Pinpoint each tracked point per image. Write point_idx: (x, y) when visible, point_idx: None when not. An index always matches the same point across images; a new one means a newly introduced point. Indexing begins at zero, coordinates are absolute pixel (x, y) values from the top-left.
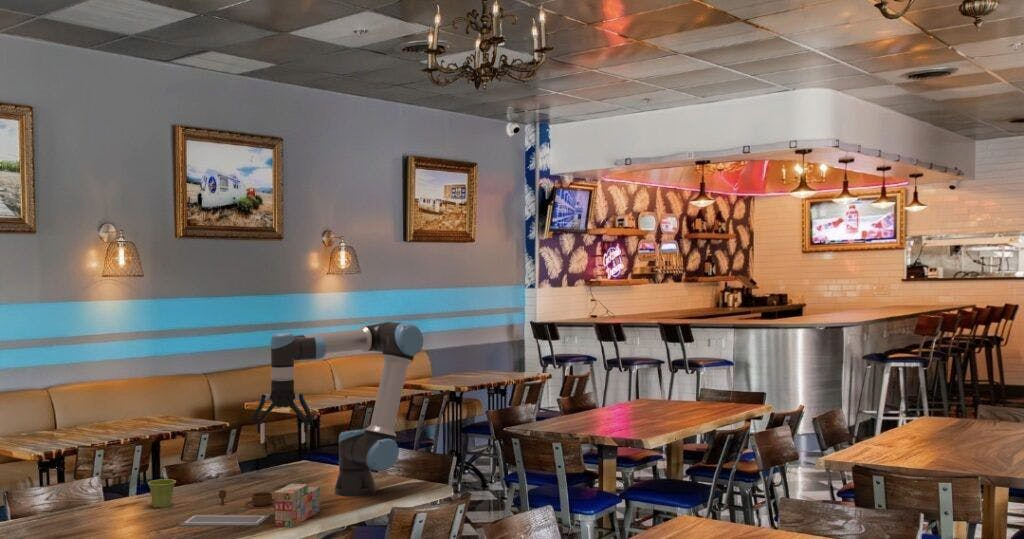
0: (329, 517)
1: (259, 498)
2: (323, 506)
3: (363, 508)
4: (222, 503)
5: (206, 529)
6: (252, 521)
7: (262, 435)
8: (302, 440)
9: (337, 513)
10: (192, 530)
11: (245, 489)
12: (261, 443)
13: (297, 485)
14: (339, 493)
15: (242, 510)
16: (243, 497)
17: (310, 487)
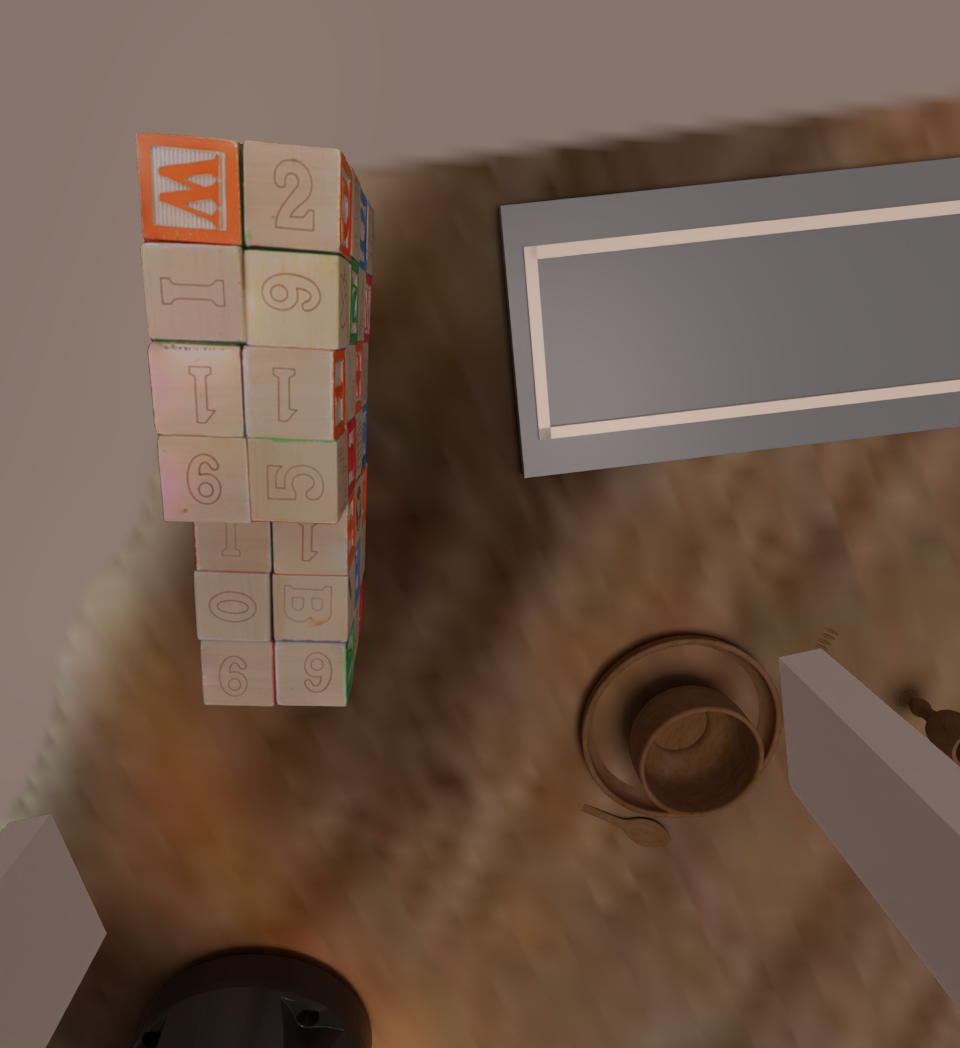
0: (149, 541)
1: (693, 702)
2: (312, 771)
3: (46, 765)
4: (917, 700)
5: (830, 140)
6: (574, 302)
7: (880, 746)
8: (5, 853)
9: (147, 637)
10: (915, 101)
11: (890, 1014)
12: (805, 652)
13: (238, 451)
14: (306, 974)
15: (759, 620)
16: (849, 874)
17: (268, 678)
